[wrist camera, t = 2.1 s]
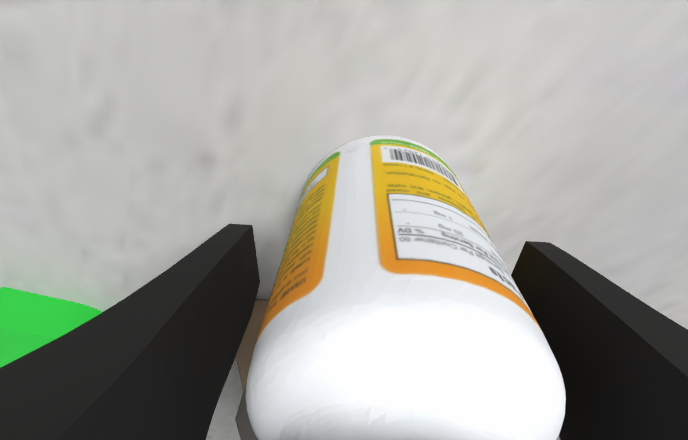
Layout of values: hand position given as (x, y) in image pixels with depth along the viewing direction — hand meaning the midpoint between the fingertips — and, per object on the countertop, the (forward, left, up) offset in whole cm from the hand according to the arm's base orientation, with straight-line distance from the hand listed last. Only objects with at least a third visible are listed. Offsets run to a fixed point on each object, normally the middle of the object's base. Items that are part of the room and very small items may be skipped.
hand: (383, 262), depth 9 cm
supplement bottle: (0, 0, -3) cm, 3 cm away
